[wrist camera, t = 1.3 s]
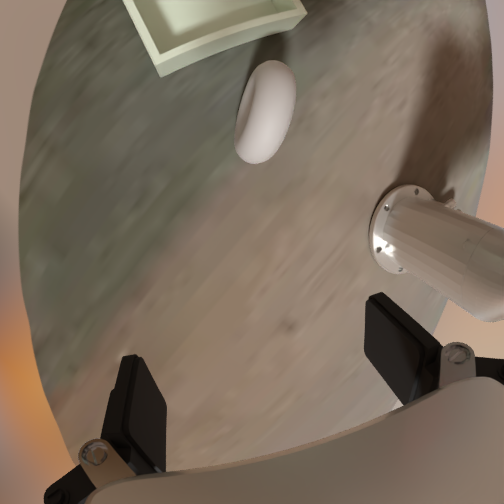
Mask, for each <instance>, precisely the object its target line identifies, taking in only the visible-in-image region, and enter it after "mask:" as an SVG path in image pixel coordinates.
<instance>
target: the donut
mask: <svg viewBox="0 0 504 504" xmlns="http://www.w3.org/2000/svg"><path fill="white" fill-rule="evenodd" d="M295 101H296V81H295V77H294V74H293V72H292V70H291V69H290V68H289V67H288V66H286V65H285V64H284V63H282V62H280V61H276V60H270V61H266V62H264V63H262V64H260V65H259V66H258V67H257V68H256V69H255V70H254V71H253V73H252V74H251V76H250V79H249V81H248V83H247V86H246V88H245V91H244V94H243V97H242V100H241V103H240V107H239V111H238V116H237V120H236V127H235V135H234V144H235V149H236V152H237V153H238V155H239V156H240V157H241V158H242V159H243V160H244V161H246V162H248V163H252V164H257V163H261V162H264V161H267V160H268V159H270V158H271V157H272V156H273V155H274V154H275V152H276V151H277V150H278V149H279V147H280V145H281V144H282V142H283V140H284V138H285V136H286V133H287V131H288V128H289V126H290V123H291V119H292V115H293V112H294V107H295Z"/></svg>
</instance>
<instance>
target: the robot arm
mask: <svg viewBox="0 0 504 504" xmlns="http://www.w3.org/2000/svg"><path fill="white" fill-rule="evenodd" d="M455 207H456V202H455V200H454V199H449V200H448V201H446V202H445V203H441V202H438V201H435V200H434V198H433V197H432V195H431V194H430V193H429V192H428V191H427V190H425V189H424V188H422V187H419V186H416V185H402V186H398V187H396V188H395V189H393V190H391V191H390V192H389V193H388V194H386V195H385V197H384V198H383V199H382V200H381V201H380V203H379V205H378V206H377V208H376V210H375V212H374V215H373V217H372V221H371V225H370V231H369V244H370V249H371V253H372V255H373V257H374V259H375V261H376V262H377V263H378V265H380V266H381V267H382V268H383V269H385V270H386V271H388V272H390V273H394V274H403V273H407V272H410V273H411V274H413V275H415V276H416V277H418V278H419V279H421V280H422V281H424V282H425V283H426V284H428V285H429V286H431V287H432V288H434V289H435V290H437V291H438V292H440V293H441V294H443V295H444V296H445V297H447V298H448V299H450V300H451V301H453V302H454V303H456V304H457V305H458V306H460V307H461V308H463V309H464V310H466V311H467V312H468V313H470V314H471V315H473V316H474V317H476V318H477V319H480V320H482V321H486V322H496V321H500V320H504V228H502V227H499V226H497V225H494V224H491V223H489V222H486V221H484V220H481V219H479V218H476V217H473V216H471V215H468V214H465V213H463V212H462V211H461V210H459V209H457V210H454V209H453V208H455ZM364 352H365V355H366V357H367V358H368V359H369V360H370V362H371V363H372V364H373V366H374V367H375V368H376V370H377V371H378V372H379V374H380V375H381V376H382V377H383V379H384V380H385V381H386V383H387V384H388V385H389V387H390V388H391V389H392V391H393V392H394V393H395V395H396V396H397V397H398V399H399V400H400V401H401V403H402V404H403V405H404V406H402V407H400V408H397V409H396V410H393V411H391V412H389V413H387V414H384V415H382V416H380V417H378V418H375V419H373V420H371V421H368V422H366V423H363V424H361V425H358V426H356V427H353V428H351V429H348V430H345V431H343V432H340V433H337V434H335V435H332V436H329V437H326V438H323V439H320V440H317V441H314V442H311V443H308V444H305V445H301V446H298V447H294V448H291V449H287V450H284V451H280V452H276V453H272V454H268V455H264V456H260V457H256V458H251V459H247V460H242V461H237V462H232V463H227V464H221V465H215V466H209V467H202V468H195V469H188V470H180V471H171V472H166V418H167V406H166V402H165V400H164V398H163V396H162V394H161V392H160V391H159V389H158V387H157V385H156V383H155V381H154V379H153V377H152V375H151V373H150V371H149V370H148V368H147V366H146V364H145V361H144V360H143V358H142V357H138V356H137V355H136V354H135V355H128V356H123V357H122V360H121V364H120V368H119V372H118V376H117V380H116V384H115V388H114V389H113V390H112V391H111V393H110V397H109V401H108V405H107V410H106V414H105V418H104V423H103V428H102V433H101V437H100V439H92V440H89V441H87V442H86V443H85V444H84V445H82V447H81V448H80V450H79V453H78V460H79V463H80V464H79V465H78V466H76V467H75V468H74V469H72V470H71V471H70V472H68V473H67V474H66V475H65V476H63V477H62V478H60V479H59V480H58V481H56V482H55V483H53V484H52V485H51V486H50V487H49V488H48V489H47V490H46V492H45V494H44V504H504V359H495V358H494V359H493V358H483V357H475V355H474V351H473V350H472V348H471V347H469V346H468V345H467V344H464V343H460V342H452V343H450V344H447V345H446V346H444V347H443V346H442V345H441V344H440V343H439V342H438V341H437V340H436V339H435V338H434V337H433V336H432V335H431V334H430V333H429V332H427V331H426V330H425V329H424V328H423V327H422V326H421V325H420V324H419V323H417V322H416V321H415V320H414V319H413V318H412V317H411V316H410V315H408V314H407V313H406V312H405V311H404V310H403V309H402V308H400V307H399V306H398V305H397V304H396V303H395V302H393V301H392V300H391V299H390V298H389V297H388V296H386V295H385V294H384V293H383V292H380V293H377V294H374V295H371V296H369V299H368V300H367V301H366V306H365V338H364Z"/></svg>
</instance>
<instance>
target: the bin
mask: <svg viewBox="0 0 504 504" xmlns="http://www.w3.org/2000/svg"><path fill="white" fill-rule="evenodd" d="M123 2H124V4H125V7H126V9H127V11H128V13H129V15H130V17H131V19H132V21H133V23H134V25H135V27H136V29H137V31H138V33H139V35H140V37H141V39H142V41H143V43H144V45H145V47H146V49H147V51H148V53H149V55H150V58H151V60H152V62H153V64H154V66H155V68H156V70H157V72H158V74H159V76H160V78H162V77H164V76H166V75H168V74H170V73H172V72H174V71H176V70H178V69H181V68H183V67H185V66H187V65H189V64H192V63H194V62H196V61H199V60H201V59H204V58H206V57H209V56H211V55H214V54H216V53H219V52H221V51H224V50H227V49H229V48H232V47H235V46H238V45H241V44H244V43H247V42H250V41H253V40H256V39H259V38H263V37H266V36H269V35H273V34H276V33H280V32H284V31H287V30H291V29H293V28H294V27H295V26H296V25H297V24H298V23H299V22H300V21H301V20H302V19H303V18H304V17H305V16H306V15H307V14H308V13H307V12H306V10H305V8H304V6H303V5H302V3H301V1H300V0H123Z"/></svg>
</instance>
